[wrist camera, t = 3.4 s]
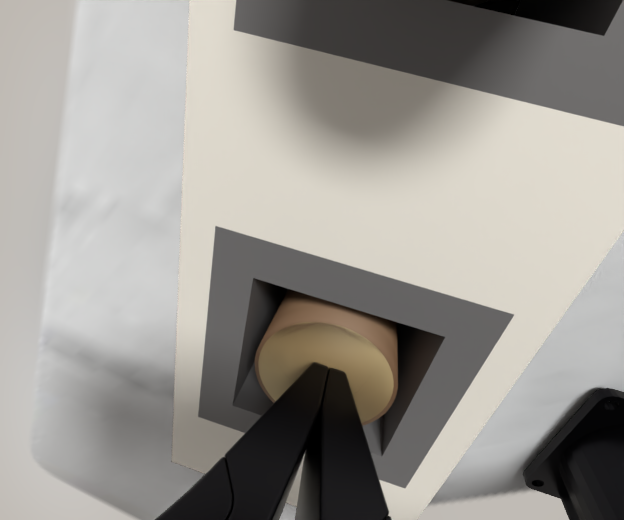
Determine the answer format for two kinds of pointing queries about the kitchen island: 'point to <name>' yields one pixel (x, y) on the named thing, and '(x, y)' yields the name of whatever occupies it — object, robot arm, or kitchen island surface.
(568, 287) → the white peg holder block
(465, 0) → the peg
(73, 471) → the kitchen island surface
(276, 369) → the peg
